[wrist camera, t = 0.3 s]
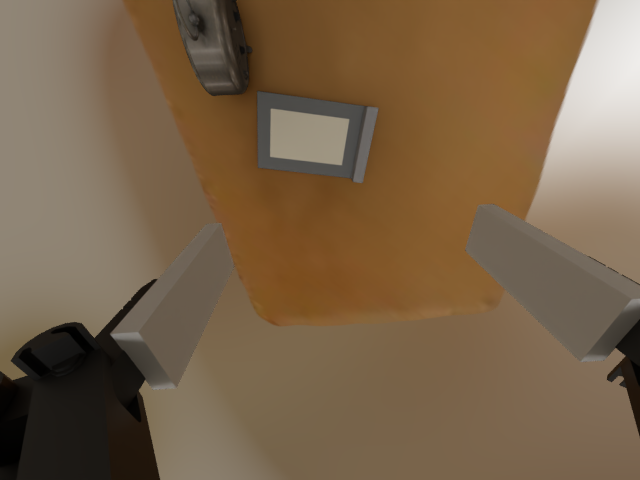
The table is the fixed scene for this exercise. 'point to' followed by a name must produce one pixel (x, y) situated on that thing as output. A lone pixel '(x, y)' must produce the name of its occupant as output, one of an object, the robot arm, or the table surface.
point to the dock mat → (314, 135)
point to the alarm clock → (214, 44)
